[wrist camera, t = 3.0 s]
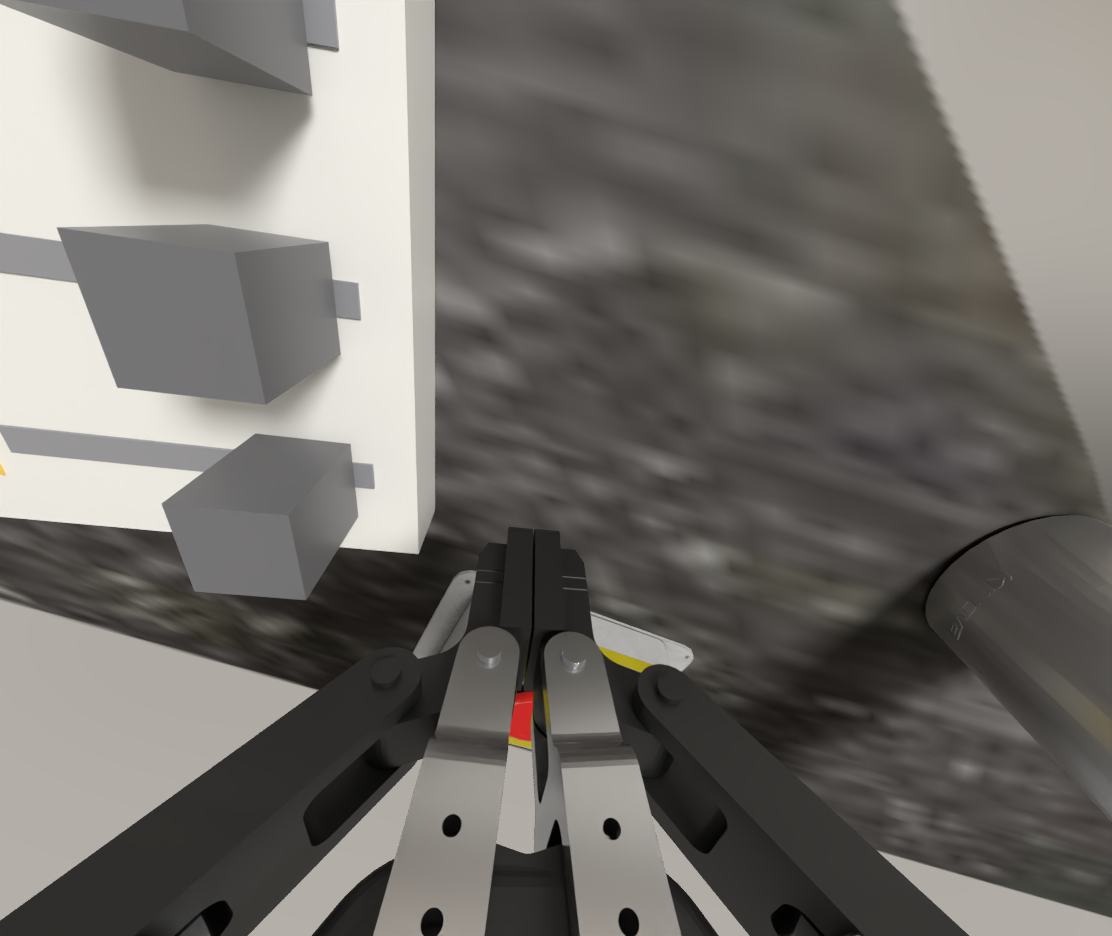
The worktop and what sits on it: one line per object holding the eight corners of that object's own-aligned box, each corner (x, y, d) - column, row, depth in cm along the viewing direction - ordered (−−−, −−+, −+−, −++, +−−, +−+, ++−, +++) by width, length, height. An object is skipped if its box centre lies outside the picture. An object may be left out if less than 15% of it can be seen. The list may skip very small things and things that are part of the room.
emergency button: (444, 627, 18) (723, 716, 22) (461, 557, 22) (697, 643, 26) (381, 737, 22) (626, 797, 26) (404, 662, 26) (616, 724, 30)
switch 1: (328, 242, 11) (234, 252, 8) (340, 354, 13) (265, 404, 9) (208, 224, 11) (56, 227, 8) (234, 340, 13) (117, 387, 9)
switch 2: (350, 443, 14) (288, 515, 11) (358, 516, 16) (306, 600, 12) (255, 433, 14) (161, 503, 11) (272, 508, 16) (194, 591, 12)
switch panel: (434, -115, 11) (397, -227, 8) (434, 510, 20) (417, 555, 17) (-377, -294, 9) (-753, -503, 7) (32, 470, 19) (-55, 513, 16)
